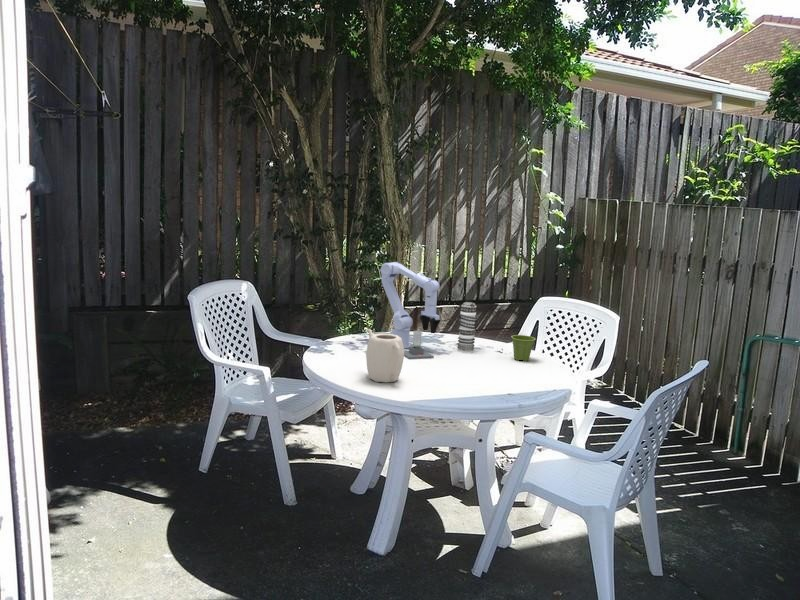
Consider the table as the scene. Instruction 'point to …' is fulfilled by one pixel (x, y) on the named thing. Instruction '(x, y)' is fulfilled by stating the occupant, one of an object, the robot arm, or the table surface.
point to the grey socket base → (417, 353)
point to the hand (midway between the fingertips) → (429, 331)
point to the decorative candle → (467, 327)
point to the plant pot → (522, 346)
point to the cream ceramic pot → (384, 357)
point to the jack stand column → (417, 338)
